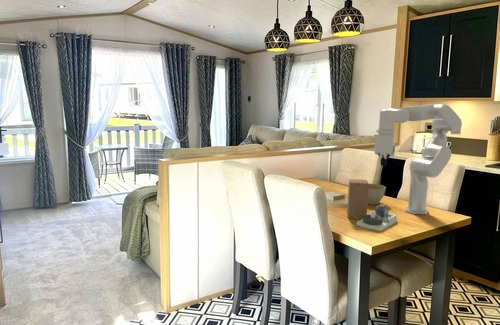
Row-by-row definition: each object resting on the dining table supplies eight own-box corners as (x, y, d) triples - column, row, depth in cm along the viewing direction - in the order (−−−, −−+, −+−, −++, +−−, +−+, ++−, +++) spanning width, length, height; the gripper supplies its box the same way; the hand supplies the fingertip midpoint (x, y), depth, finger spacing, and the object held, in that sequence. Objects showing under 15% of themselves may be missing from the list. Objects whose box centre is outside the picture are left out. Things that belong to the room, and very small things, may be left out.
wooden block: (366, 219, 212) (368, 183, 208) (347, 217, 213) (349, 182, 210) (364, 213, 221) (367, 179, 218) (347, 212, 223) (349, 178, 220)
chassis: (374, 216, 217) (374, 202, 215) (397, 221, 208) (398, 207, 207) (356, 225, 200) (357, 210, 199) (380, 231, 192) (382, 215, 190)
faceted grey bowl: (367, 218, 205) (368, 213, 205) (384, 221, 199) (384, 217, 199) (360, 222, 198) (360, 217, 198) (377, 226, 193) (377, 221, 192)
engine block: (379, 215, 211) (379, 203, 210) (388, 217, 208) (389, 205, 207) (374, 217, 207) (375, 205, 206) (383, 219, 204) (384, 207, 203)
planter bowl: (352, 201, 247) (353, 185, 245) (368, 198, 257) (369, 182, 255) (374, 207, 234) (375, 190, 233) (389, 203, 244) (391, 187, 242)
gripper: (369, 131, 211) (367, 164, 214) (397, 133, 201) (394, 168, 204) (375, 131, 216) (373, 163, 219) (402, 133, 207) (399, 166, 210)
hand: (383, 165), depth 212 cm, fingers closed
